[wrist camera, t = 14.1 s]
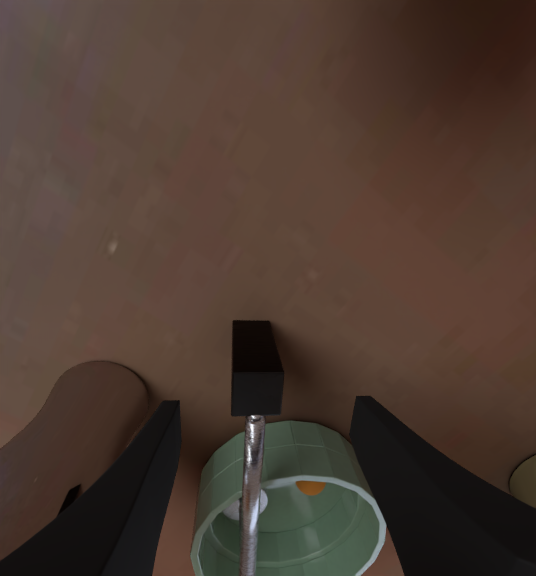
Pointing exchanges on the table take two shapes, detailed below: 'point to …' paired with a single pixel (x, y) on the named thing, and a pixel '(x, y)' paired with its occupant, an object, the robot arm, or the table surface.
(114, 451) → the beer glass
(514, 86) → the table surface
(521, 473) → the squeeze bottle
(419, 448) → the robot arm
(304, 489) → the orange ball
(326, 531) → the soup bowl
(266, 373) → the ladle
